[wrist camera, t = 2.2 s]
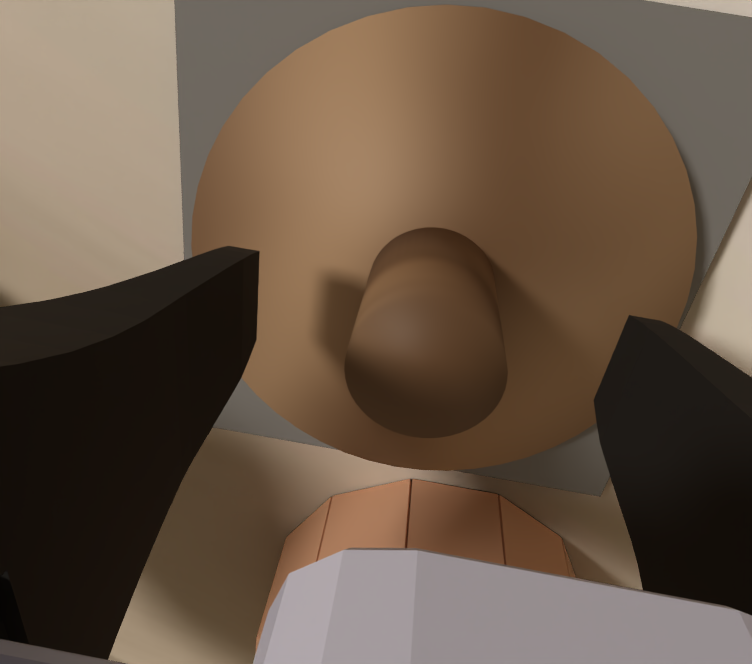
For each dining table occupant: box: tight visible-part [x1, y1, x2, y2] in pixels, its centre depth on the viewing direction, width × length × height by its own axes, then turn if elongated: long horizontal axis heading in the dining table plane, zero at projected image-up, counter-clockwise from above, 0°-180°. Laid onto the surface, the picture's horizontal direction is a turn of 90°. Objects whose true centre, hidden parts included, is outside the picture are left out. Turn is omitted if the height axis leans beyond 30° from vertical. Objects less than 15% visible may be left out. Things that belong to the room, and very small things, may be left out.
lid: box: [191, 4, 697, 471], centre depth 12 cm, size 11×11×4 cm
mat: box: [174, 0, 752, 496], centre depth 14 cm, size 12×12×1 cm
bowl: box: [256, 479, 576, 651], centre depth 19 cm, size 10×10×4 cm
